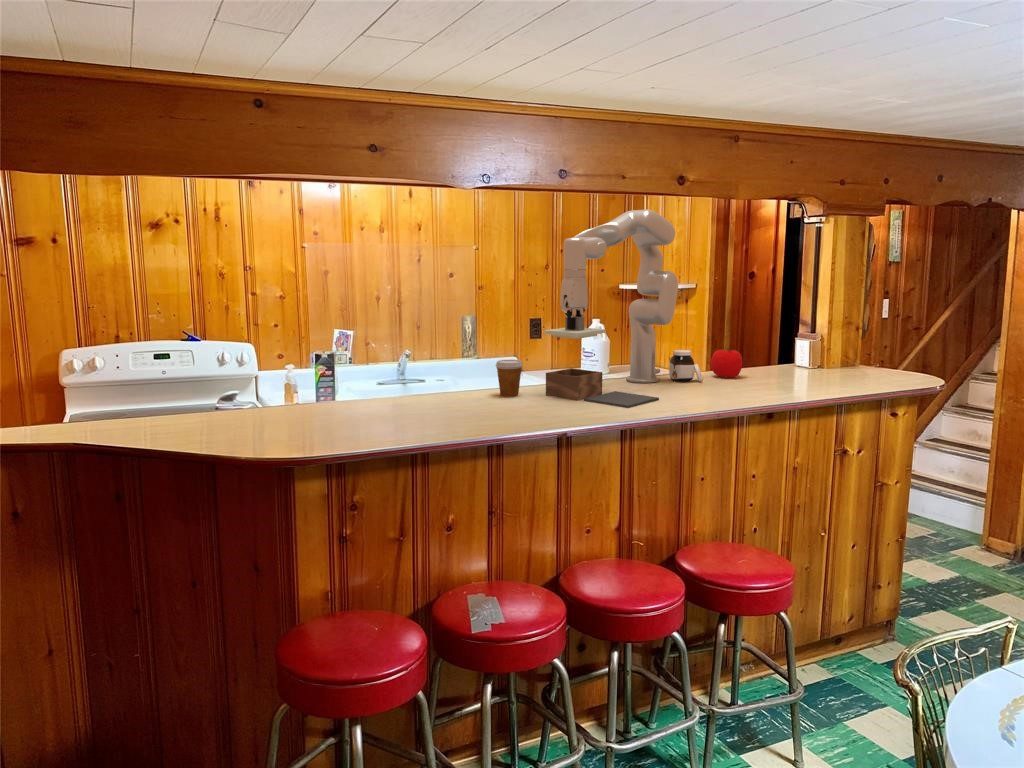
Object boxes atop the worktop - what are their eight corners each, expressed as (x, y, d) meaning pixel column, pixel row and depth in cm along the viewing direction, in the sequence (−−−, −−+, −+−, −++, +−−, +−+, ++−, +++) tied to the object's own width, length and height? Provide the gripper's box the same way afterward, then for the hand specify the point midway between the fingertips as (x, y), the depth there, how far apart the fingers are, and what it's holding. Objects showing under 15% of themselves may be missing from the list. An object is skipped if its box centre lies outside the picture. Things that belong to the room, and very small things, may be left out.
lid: (571, 332, 264) (571, 314, 263) (605, 335, 254) (605, 316, 253) (544, 336, 254) (544, 317, 253) (578, 339, 244) (578, 319, 242)
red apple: (726, 380, 284) (728, 351, 282) (702, 376, 296) (703, 347, 294) (749, 378, 290) (750, 349, 288) (724, 373, 302) (725, 345, 300)
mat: (615, 393, 260) (615, 391, 260) (659, 399, 248) (659, 397, 247) (583, 400, 247) (583, 398, 247) (628, 408, 235) (628, 405, 235)
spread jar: (665, 379, 289) (666, 349, 287) (691, 377, 292) (692, 348, 290) (681, 384, 278) (682, 353, 276) (707, 382, 281) (709, 352, 279)
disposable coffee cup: (525, 393, 262) (525, 359, 260) (519, 398, 253) (519, 363, 251) (499, 392, 264) (499, 359, 262) (492, 397, 255) (492, 362, 253)
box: (571, 390, 267) (571, 368, 266) (602, 394, 258) (602, 372, 256) (545, 395, 257) (545, 372, 256) (577, 400, 248) (577, 377, 246)
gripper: (581, 273, 259) (580, 326, 262) (550, 275, 247) (551, 329, 250) (598, 274, 254) (597, 327, 257) (568, 275, 242) (568, 331, 245)
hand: (574, 328), depth 254 cm, fingers closed on lid, 3 cm apart
